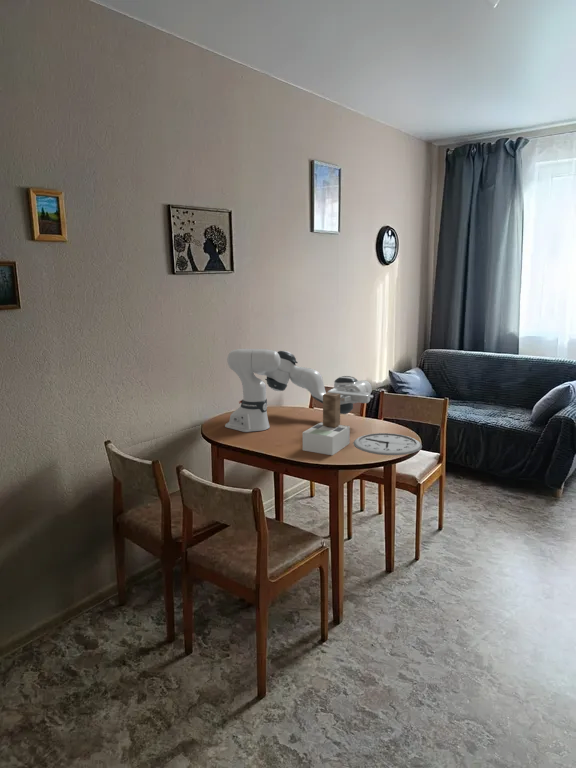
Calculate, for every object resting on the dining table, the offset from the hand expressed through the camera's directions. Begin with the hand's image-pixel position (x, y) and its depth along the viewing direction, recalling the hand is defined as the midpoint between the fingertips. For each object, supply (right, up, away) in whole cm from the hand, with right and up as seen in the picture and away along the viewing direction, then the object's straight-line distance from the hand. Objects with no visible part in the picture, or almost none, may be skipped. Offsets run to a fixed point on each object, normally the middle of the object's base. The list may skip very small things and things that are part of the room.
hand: (342, 399), depth 242 cm
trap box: (-8, -20, -9) cm, 23 cm away
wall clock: (+19, -20, -6) cm, 28 cm away
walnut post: (-5, -11, -6) cm, 14 cm away
